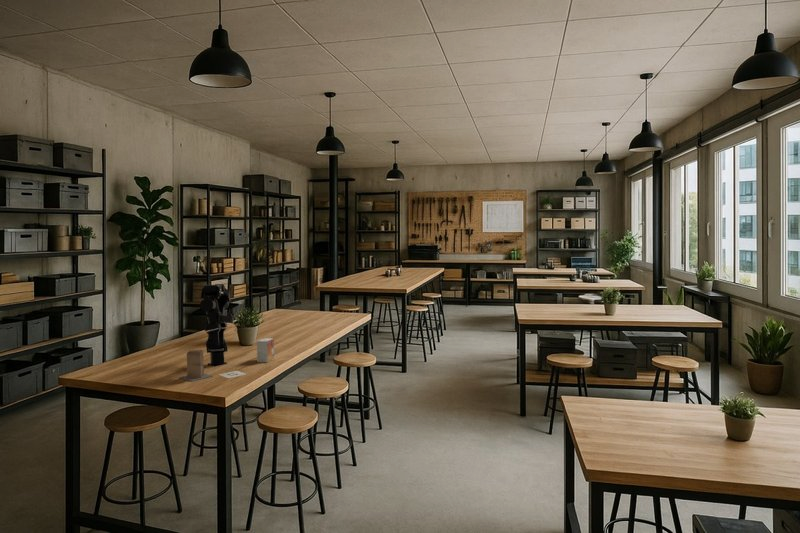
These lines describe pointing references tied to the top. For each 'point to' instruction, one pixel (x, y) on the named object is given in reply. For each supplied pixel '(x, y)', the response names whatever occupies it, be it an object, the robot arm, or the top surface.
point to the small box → (265, 350)
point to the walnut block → (195, 364)
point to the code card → (232, 374)
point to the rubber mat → (195, 378)
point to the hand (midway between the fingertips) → (220, 344)
